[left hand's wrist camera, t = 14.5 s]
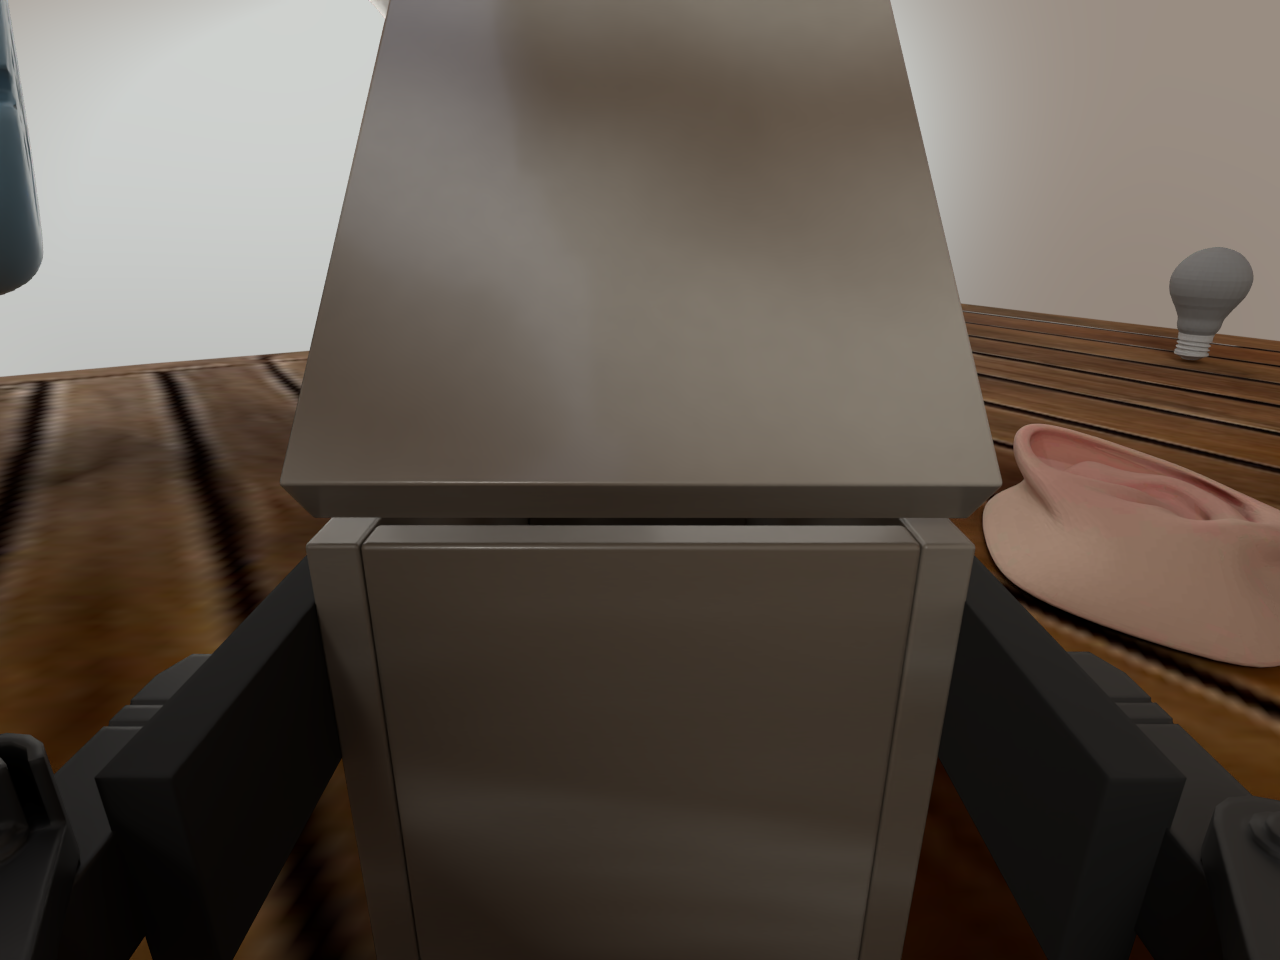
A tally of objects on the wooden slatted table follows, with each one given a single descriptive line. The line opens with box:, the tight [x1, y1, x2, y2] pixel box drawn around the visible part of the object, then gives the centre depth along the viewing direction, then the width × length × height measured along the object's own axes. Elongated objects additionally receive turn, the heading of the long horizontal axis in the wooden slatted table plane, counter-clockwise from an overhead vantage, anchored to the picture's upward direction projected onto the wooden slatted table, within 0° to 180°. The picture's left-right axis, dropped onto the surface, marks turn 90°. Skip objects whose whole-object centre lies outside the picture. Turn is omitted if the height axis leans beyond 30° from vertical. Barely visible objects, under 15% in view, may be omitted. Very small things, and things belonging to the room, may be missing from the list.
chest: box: [306, 518, 975, 960], centre depth 19 cm, size 16×9×9 cm, turn 0°
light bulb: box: [1169, 247, 1253, 360], centre depth 67 cm, size 6×6×10 cm
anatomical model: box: [983, 424, 1280, 667], centre depth 29 cm, size 13×4×12 cm
